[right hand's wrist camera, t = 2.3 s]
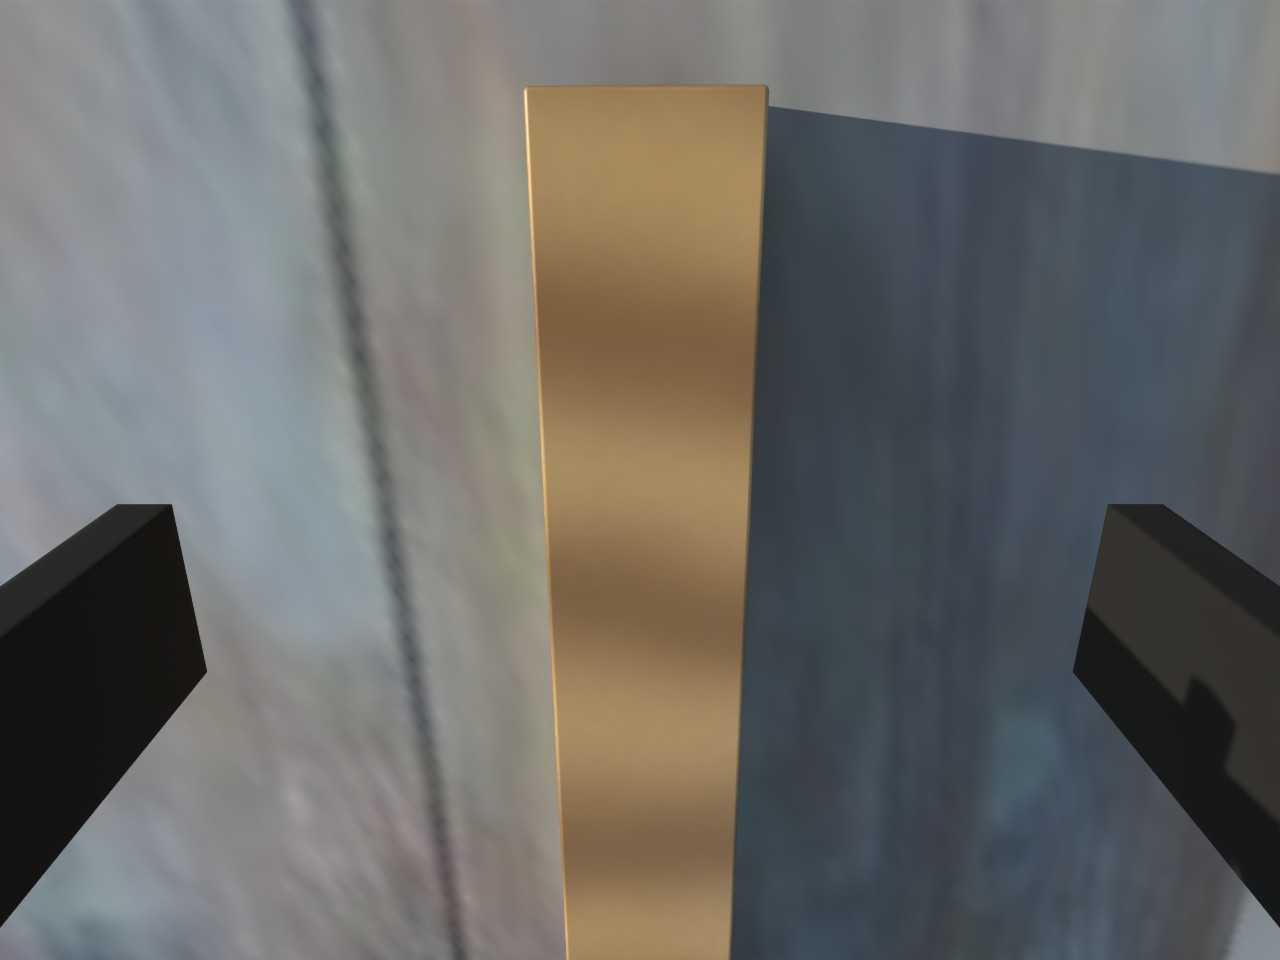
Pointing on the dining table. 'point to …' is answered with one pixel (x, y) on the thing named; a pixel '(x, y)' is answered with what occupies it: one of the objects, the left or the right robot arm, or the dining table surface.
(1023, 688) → the dining table surface
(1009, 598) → the dining table surface
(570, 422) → the board
